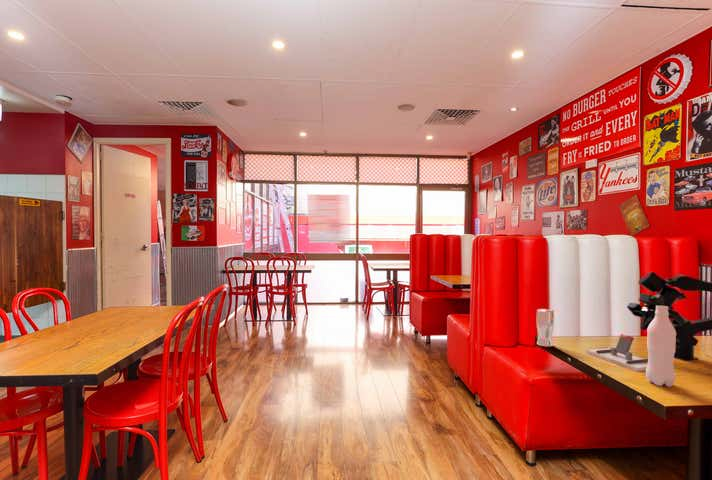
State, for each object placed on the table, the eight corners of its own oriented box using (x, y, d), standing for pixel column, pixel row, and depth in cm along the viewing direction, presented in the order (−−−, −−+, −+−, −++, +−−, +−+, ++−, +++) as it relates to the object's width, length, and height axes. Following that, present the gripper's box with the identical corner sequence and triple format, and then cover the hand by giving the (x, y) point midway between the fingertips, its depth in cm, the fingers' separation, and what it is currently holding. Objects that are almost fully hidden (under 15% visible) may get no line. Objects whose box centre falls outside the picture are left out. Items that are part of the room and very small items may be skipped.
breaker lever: (617, 352, 139) (623, 334, 139) (627, 355, 135) (634, 337, 135) (614, 351, 138) (621, 333, 139) (624, 354, 134) (631, 336, 135)
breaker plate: (609, 350, 148) (609, 341, 148) (662, 368, 129) (662, 358, 128) (586, 352, 145) (586, 343, 145) (636, 371, 125) (636, 360, 125)
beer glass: (549, 342, 158) (550, 309, 158) (556, 347, 151) (557, 312, 151) (533, 341, 159) (533, 308, 159) (539, 346, 152) (540, 311, 152)
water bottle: (639, 379, 118) (641, 304, 118) (659, 379, 119) (661, 304, 118) (660, 388, 111) (662, 308, 111) (681, 388, 112) (683, 308, 111)
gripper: (630, 283, 150) (608, 310, 148) (678, 289, 132) (654, 320, 130) (645, 301, 152) (624, 328, 150) (695, 310, 134) (671, 341, 131)
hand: (641, 329), depth 140 cm, fingers closed
